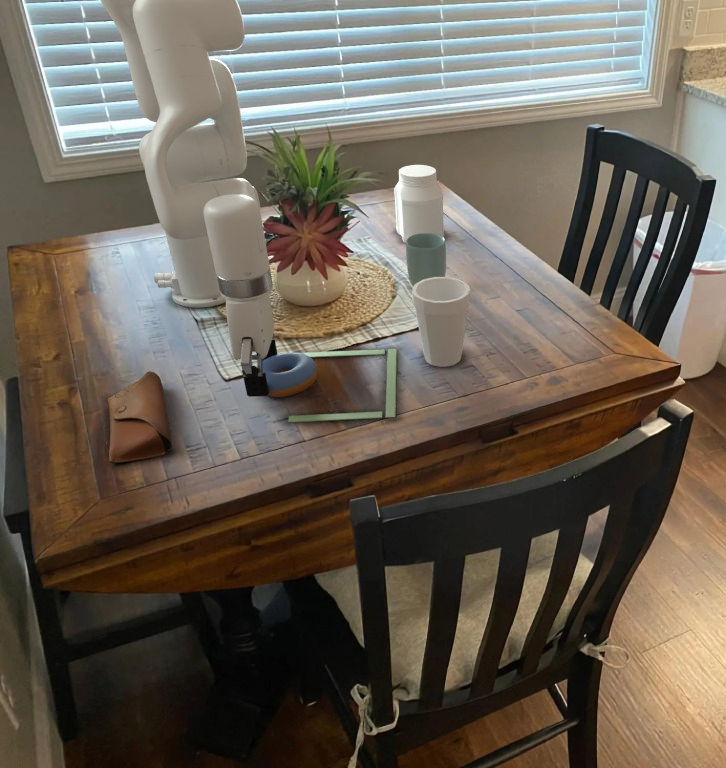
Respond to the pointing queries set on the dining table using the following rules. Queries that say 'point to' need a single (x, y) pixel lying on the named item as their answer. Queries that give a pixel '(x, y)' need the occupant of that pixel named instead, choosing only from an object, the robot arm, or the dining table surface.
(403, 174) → the jar
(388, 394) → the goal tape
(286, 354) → the doughnut
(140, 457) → the sunglasses case
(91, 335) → the dining table surface
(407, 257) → the cup
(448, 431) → the dining table surface
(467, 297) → the foam cup
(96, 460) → the dining table surface
